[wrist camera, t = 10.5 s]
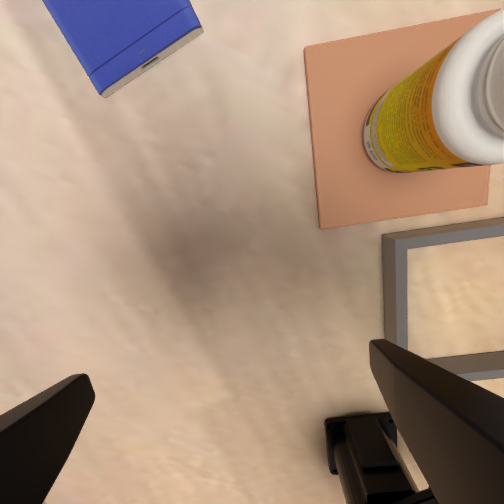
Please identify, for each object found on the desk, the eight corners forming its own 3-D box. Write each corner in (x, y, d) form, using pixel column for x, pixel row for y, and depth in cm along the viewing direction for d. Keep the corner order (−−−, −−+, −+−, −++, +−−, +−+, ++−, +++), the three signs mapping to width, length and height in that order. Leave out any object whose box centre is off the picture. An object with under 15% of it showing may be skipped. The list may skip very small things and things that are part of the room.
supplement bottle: (377, 188, 18) (515, 189, 9) (347, 113, 17) (466, 15, 7) (454, 148, 18) (705, 100, 8) (428, 68, 16) (681, -110, 7)
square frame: (535, 355, 22) (561, 371, 20) (386, 371, 23) (397, 388, 21) (555, 209, 19) (588, 212, 17) (381, 234, 20) (395, 239, 18)
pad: (481, 204, 19) (487, 205, 19) (319, 228, 20) (321, 229, 19) (494, 13, 16) (501, 8, 16) (303, 50, 17) (305, 46, 16)
